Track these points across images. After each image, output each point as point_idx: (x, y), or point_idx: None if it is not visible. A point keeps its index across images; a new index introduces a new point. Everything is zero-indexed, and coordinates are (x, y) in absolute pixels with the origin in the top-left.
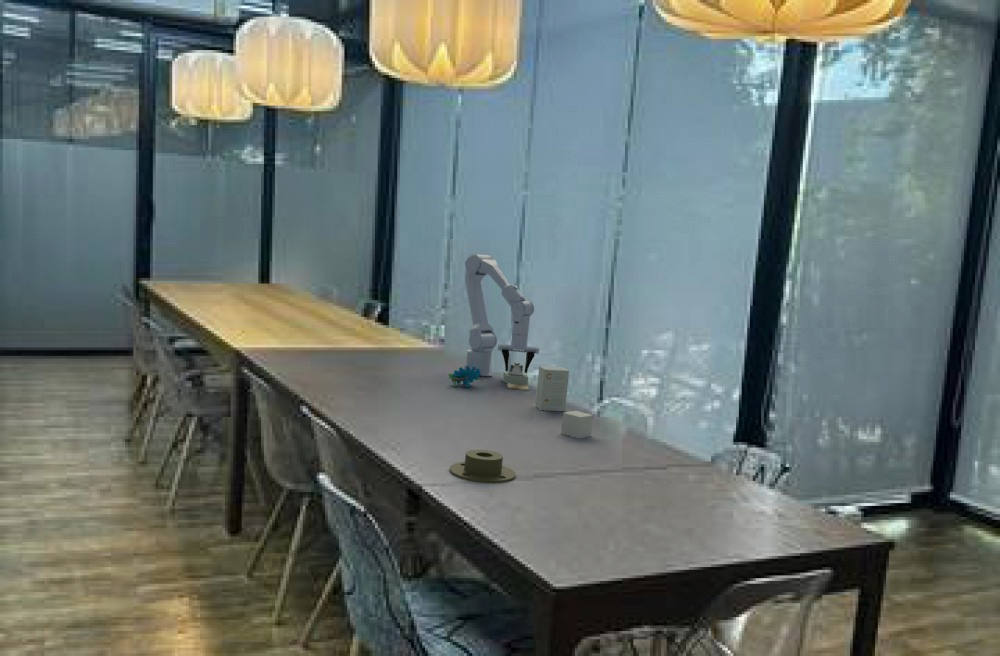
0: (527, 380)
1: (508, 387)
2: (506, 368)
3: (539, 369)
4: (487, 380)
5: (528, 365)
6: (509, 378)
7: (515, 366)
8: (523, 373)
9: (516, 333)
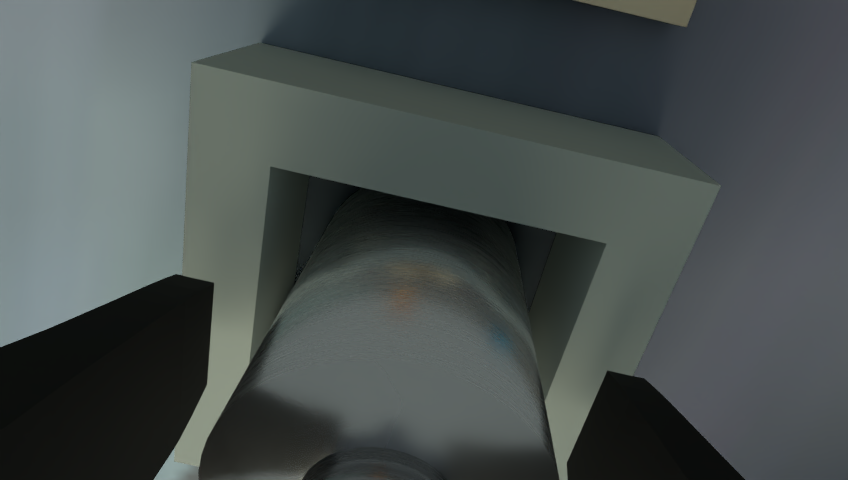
0: (230, 54)
1: None
2: (674, 412)
3: None
4: (840, 358)
5: (17, 350)
6: (612, 147)
7: (472, 371)
8: None
9: None
